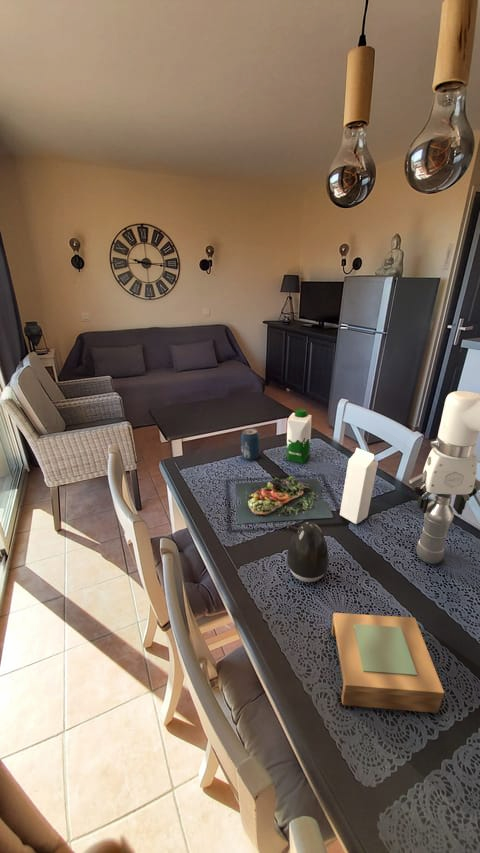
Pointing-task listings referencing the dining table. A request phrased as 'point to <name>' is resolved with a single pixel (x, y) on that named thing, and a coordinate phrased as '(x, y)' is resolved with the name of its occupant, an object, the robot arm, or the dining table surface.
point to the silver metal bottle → (435, 529)
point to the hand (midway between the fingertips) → (439, 510)
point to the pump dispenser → (307, 552)
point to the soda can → (250, 444)
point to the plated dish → (280, 501)
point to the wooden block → (385, 663)
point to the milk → (358, 486)
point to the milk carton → (298, 436)
